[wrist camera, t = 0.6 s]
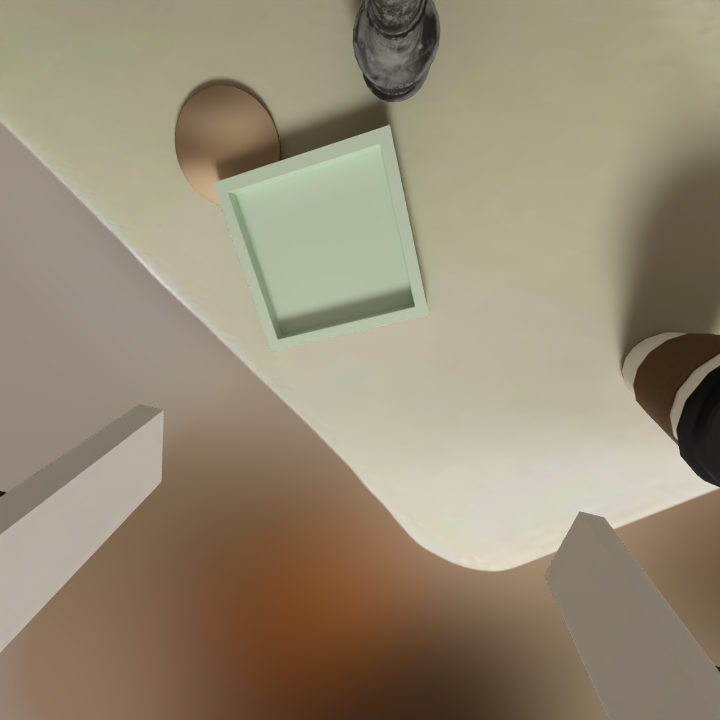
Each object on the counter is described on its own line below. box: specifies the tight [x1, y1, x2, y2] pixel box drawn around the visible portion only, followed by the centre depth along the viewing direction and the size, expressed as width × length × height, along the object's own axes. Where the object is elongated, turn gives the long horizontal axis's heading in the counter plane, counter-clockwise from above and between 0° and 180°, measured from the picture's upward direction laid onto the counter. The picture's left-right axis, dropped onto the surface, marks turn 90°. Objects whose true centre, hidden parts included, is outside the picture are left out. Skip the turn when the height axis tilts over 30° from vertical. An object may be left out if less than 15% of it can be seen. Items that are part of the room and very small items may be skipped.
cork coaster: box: [175, 85, 281, 205], centre depth 30 cm, size 9×9×1 cm
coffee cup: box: [622, 332, 720, 487], centre depth 27 cm, size 11×11×12 cm
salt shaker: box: [353, 0, 440, 102], centre depth 22 cm, size 6×6×12 cm
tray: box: [213, 125, 429, 352], centre depth 31 cm, size 15×15×2 cm
